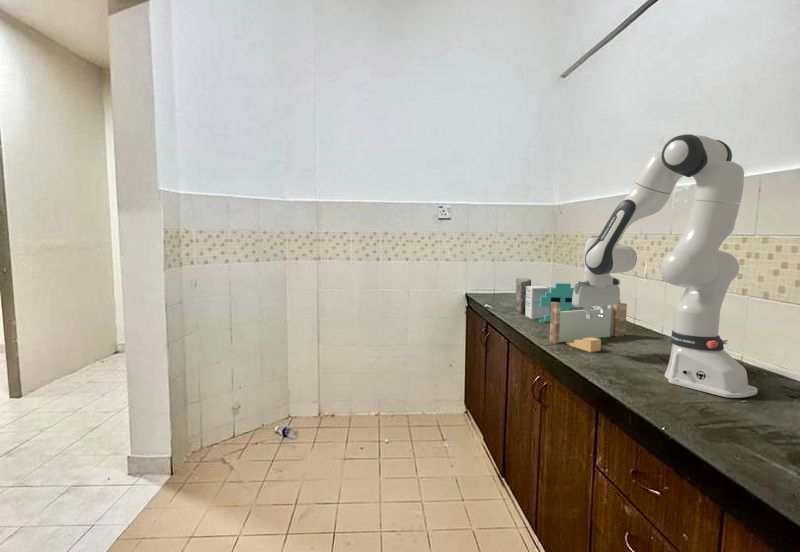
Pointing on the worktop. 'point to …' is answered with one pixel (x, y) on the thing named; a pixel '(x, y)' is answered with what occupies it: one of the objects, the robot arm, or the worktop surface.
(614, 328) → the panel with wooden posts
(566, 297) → the alien figure
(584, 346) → the tan long block
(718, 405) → the worktop surface
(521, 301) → the stone block
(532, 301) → the supplement box
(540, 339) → the worktop surface
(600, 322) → the door leaf
